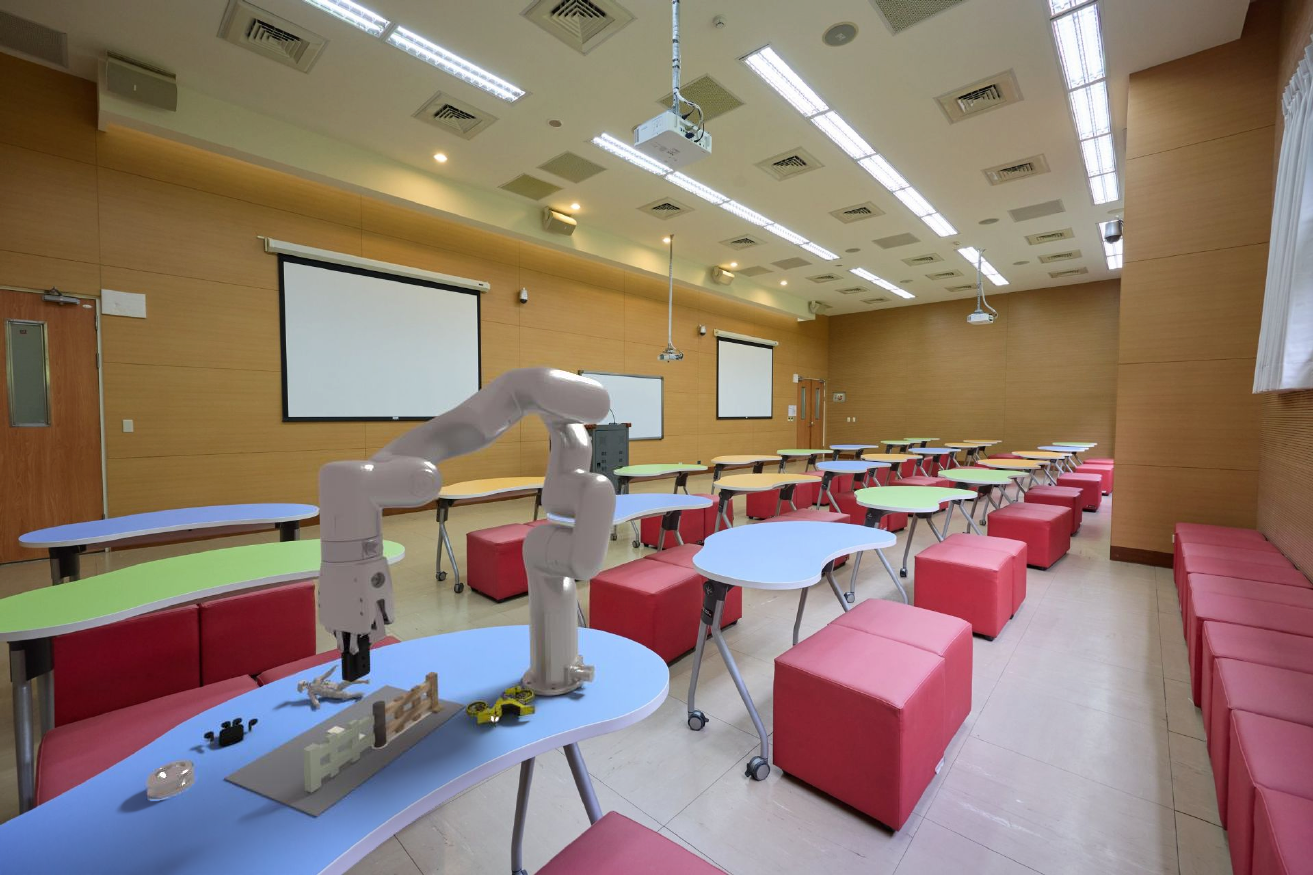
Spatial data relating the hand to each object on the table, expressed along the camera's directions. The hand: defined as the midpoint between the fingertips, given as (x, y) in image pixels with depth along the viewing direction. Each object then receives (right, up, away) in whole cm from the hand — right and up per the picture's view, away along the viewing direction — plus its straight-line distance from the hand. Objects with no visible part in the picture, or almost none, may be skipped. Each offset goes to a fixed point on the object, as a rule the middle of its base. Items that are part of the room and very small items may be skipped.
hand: (356, 676), depth 74 cm
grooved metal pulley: (-28, -17, +1) cm, 33 cm away
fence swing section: (-5, -16, +5) cm, 17 cm away
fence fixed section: (0, -16, +16) cm, 22 cm away
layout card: (-7, -16, +12) cm, 22 cm away
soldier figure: (-19, -16, +25) cm, 35 cm away
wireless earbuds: (-28, -17, +13) cm, 36 cm away
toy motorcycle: (+15, -16, +18) cm, 29 cm away
